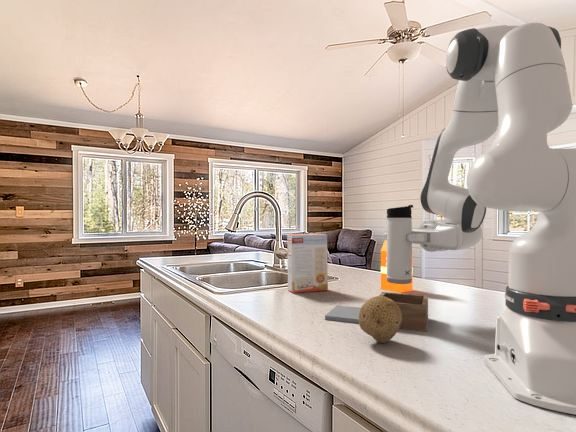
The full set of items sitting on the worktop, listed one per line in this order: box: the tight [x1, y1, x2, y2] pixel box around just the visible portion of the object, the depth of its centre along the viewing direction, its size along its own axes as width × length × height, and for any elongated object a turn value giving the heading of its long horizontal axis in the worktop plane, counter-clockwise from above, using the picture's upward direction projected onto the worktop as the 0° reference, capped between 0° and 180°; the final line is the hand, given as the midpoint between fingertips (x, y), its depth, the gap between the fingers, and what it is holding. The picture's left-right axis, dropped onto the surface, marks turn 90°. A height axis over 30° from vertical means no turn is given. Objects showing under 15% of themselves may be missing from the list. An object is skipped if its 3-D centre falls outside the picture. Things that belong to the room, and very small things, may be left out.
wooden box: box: [378, 291, 429, 332], centre depth 92 cm, size 12×12×6 cm
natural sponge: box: [358, 295, 402, 344], centre depth 76 cm, size 9×9×10 cm
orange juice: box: [380, 239, 414, 294], centre depth 133 cm, size 8×9×20 cm
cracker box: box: [286, 233, 329, 294], centre depth 131 cm, size 14×6×21 cm, turn 108°
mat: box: [324, 305, 361, 324], centre depth 97 cm, size 12×11×1 cm
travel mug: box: [386, 204, 414, 284], centre depth 92 cm, size 6×7×20 cm
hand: (396, 237), depth 92 cm, fingers closed on travel mug, 6 cm apart
